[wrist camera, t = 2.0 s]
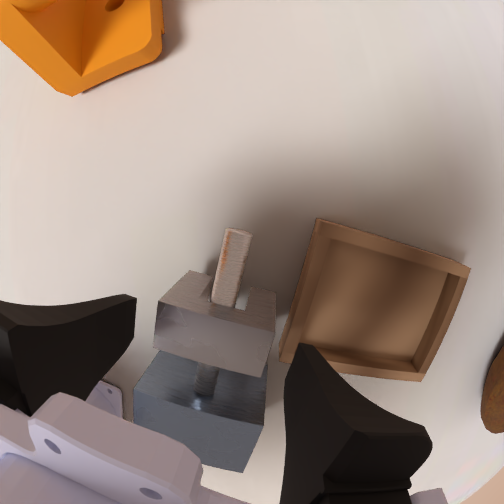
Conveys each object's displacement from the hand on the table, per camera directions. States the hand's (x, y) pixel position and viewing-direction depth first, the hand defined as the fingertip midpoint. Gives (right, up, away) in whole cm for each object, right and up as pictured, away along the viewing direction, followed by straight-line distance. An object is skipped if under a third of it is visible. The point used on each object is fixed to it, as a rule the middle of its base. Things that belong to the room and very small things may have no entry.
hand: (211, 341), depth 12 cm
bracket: (-8, +21, +3) cm, 22 cm away
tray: (+9, 0, +6) cm, 11 cm away
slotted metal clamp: (0, +1, +5) cm, 5 cm away
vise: (0, -2, +7) cm, 7 cm away
